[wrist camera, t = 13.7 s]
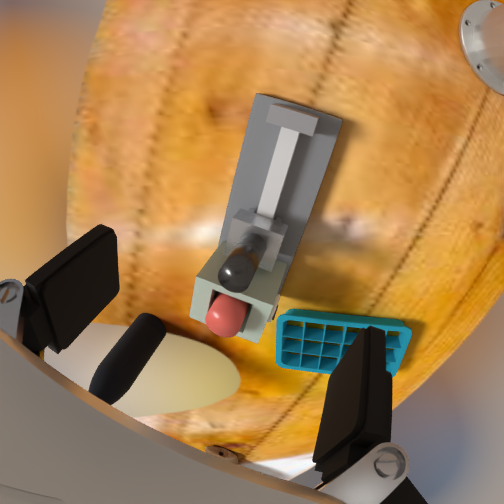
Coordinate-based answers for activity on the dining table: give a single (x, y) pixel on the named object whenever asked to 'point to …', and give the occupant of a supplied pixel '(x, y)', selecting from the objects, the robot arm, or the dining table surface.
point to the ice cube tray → (332, 340)
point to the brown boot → (222, 454)
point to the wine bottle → (127, 358)
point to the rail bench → (296, 178)
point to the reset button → (226, 315)
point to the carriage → (250, 248)
